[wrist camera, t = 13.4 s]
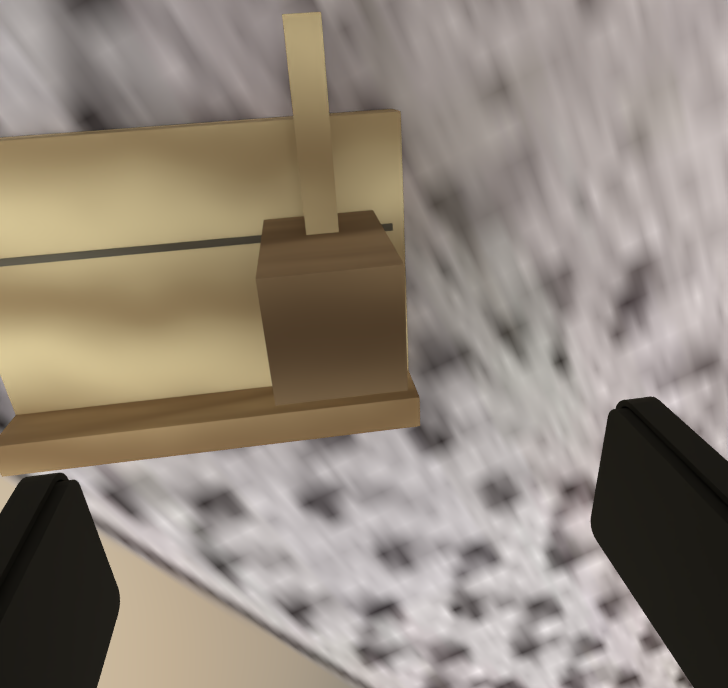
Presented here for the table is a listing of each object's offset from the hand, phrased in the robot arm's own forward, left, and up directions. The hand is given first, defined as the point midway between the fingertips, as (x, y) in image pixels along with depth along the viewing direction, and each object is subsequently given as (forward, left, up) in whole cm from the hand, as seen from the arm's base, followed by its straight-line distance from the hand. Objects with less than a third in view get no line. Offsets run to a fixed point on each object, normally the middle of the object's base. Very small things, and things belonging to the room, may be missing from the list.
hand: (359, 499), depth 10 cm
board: (+1, -5, -18) cm, 18 cm away
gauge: (-3, 0, -15) cm, 16 cm away
